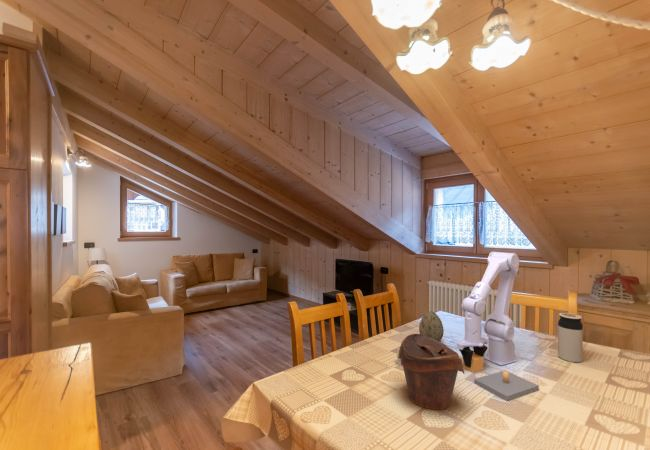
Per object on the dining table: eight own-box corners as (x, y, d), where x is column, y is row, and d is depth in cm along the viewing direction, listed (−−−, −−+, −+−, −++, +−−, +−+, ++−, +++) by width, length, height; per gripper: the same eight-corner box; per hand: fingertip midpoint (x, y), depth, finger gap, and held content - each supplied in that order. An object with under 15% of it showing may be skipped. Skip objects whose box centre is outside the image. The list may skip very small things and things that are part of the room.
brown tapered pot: (459, 424, 85) (459, 358, 85) (389, 402, 96) (390, 344, 96) (468, 395, 100) (468, 339, 101) (407, 379, 111) (407, 329, 111)
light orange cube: (471, 364, 122) (471, 352, 122) (483, 370, 118) (483, 357, 118) (462, 367, 120) (462, 354, 120) (473, 372, 116) (473, 359, 116)
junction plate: (504, 374, 115) (504, 360, 115) (538, 390, 104) (538, 375, 104) (474, 383, 108) (474, 368, 108) (507, 401, 97) (507, 385, 97)
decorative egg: (416, 345, 142) (416, 312, 142) (422, 338, 152) (422, 307, 152) (440, 350, 137) (440, 316, 137) (445, 342, 146) (445, 310, 146)
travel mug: (561, 360, 127) (561, 316, 127) (555, 353, 134) (555, 311, 134) (585, 364, 124) (586, 319, 124) (578, 356, 131) (578, 313, 131)
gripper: (468, 335, 112) (468, 373, 112) (495, 330, 118) (495, 365, 118) (452, 329, 119) (452, 365, 119) (479, 324, 125) (479, 358, 125)
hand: (472, 365), depth 119 cm, fingers closed on light orange cube, 5 cm apart
